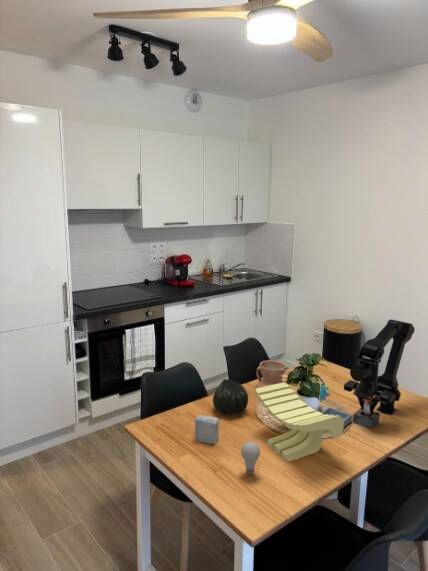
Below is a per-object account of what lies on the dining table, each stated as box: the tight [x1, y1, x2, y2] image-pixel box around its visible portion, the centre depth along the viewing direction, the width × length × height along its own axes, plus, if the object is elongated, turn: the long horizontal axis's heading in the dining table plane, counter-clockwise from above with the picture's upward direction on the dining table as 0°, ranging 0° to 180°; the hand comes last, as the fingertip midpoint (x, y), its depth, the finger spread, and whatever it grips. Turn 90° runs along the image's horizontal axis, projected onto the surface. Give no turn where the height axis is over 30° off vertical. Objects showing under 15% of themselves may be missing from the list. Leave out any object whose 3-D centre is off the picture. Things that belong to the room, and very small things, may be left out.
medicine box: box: [194, 414, 220, 446], centre depth 157 cm, size 8×4×9 cm, turn 71°
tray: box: [320, 406, 353, 429], centre depth 172 cm, size 10×10×3 cm
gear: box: [319, 382, 330, 401], centre depth 196 cm, size 11×6×10 cm
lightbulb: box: [240, 441, 261, 475], centre depth 137 cm, size 6×6×11 cm
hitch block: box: [352, 407, 381, 430], centre depth 171 cm, size 8×8×4 cm
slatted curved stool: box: [254, 382, 344, 462], centre depth 153 cm, size 30×16×18 cm, turn 27°
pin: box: [362, 396, 374, 417], centre depth 171 cm, size 4×4×11 cm
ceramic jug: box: [256, 359, 288, 388], centre depth 197 cm, size 18×14×14 cm
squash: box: [212, 378, 249, 417], centre depth 179 cm, size 14×15×15 cm
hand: (367, 411), depth 171 cm, fingers closed on pin, 3 cm apart
